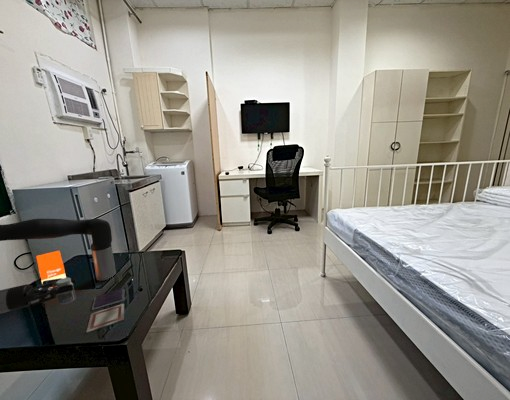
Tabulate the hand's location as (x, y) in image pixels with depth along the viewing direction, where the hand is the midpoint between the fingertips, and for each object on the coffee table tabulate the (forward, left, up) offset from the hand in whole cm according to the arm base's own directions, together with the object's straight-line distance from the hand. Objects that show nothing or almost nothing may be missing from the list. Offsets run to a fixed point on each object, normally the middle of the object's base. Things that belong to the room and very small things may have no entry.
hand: (73, 283), depth 82 cm
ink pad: (-8, +14, -18) cm, 24 cm away
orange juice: (-43, +6, -18) cm, 47 cm away
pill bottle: (-1, -2, -6) cm, 7 cm away
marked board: (+4, +7, -18) cm, 19 cm away
